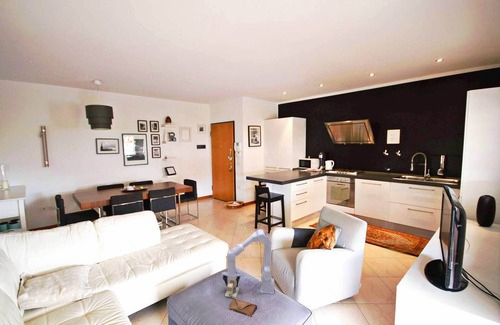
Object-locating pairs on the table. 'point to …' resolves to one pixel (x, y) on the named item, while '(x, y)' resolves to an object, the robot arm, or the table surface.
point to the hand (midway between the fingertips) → (232, 285)
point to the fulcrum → (232, 293)
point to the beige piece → (231, 285)
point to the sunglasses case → (242, 307)
